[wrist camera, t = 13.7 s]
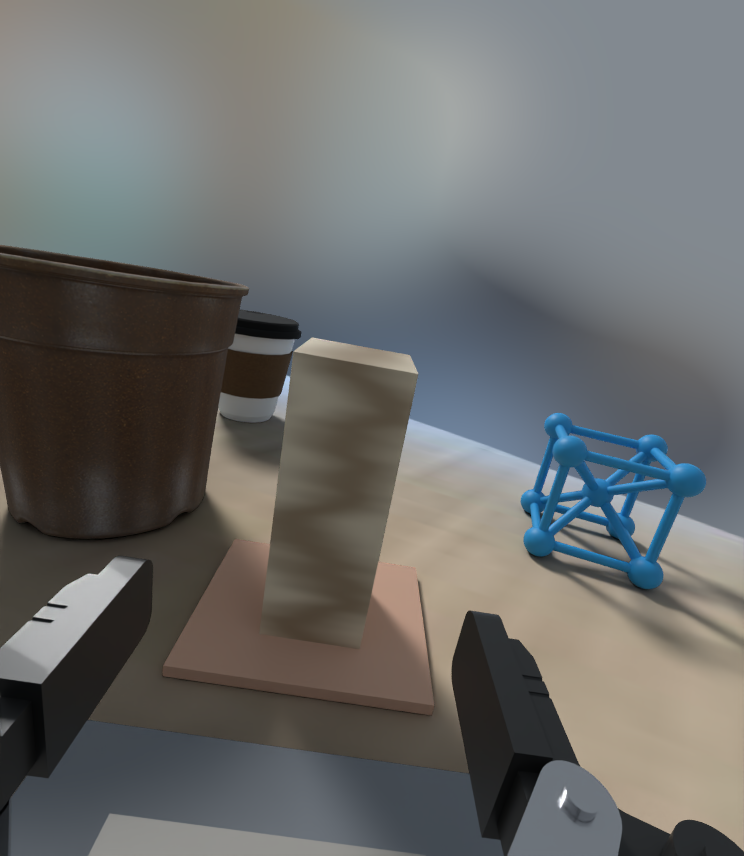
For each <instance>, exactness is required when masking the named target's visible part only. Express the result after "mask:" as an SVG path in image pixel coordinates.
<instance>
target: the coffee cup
mask: <svg viewBox="0 0 744 856" xmlns="http://www.w3.org/2000/svg"><path fill="white" fill-rule="evenodd" d="M298 326H299V324H298V323H297V322H296V321H294V320H291V319H287V318H284V317H280V316H276V315H271V314H265V313H260V312H254V311H246V310H239V315H238V320H237V325H236V331H235V336H234V342H233V344H232V345H231V346H230V347H228V352H227V358H226V364H225V370H224V375H223V381H222V387H221V394H220V400H219V405H218V407H219V410H220V412H221V414H222V415H223V416H224V417H226V418H228V419H231V420H235V421H240V422H264V421H266V420H269V419H270V417H271V416H272V414H273V413H274V411H275V408H276V404H277V401H278V397H279V396H280V394H281V392H282V388H283V385H284V381H285V378H286V374H287V370H288V367H289V363H290V360H291V356H292V352H293V351H292V348H293V344H294V341H295V339H299V338H300V337H301V331H299V330H298Z"/></svg>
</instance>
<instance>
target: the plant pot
mask: <svg viewBox="0 0 744 856" xmlns="http://www.w3.org/2000/svg"><path fill="white" fill-rule="evenodd" d="M248 291H249V288H248V287H246V286H244V285H241V284H237V283H232V282H227V281H222V280H216V279H211V278H206V277H201V276H195V275H190V274H184V273H178V272H173V271H167V270H162V269H155V268H149V267H143V266H138V265H131V264H125V263H118V262H112V261H106V260H99V259H93V258H86V257H79V256H72V255H65V254H60V253H53V252H46V251H40V250H34V249H27V248H19V247H12V246H4V245H0V468H1V472H2V477H3V482H4V488H5V493H6V499H7V504H8V509H9V511H10V513H11V515H12V516H13V518H14V519H15V520H16V521H18V522H19V523H24V522H29V523H31V524H32V525H34V526H35V527H36V528H38V529H39V530H40V531H41V532H42V533H44V534H47V535H52V536H58V537H67V538H83V539H89V538H110V537H120V536H126V535H133V534H137V533H142V532H146V531H150V530H154V529H157V528H160V527H164V526H166V525H169V524H171V522H172V521H173V520H174V519H175V518H176V517H177V516H178V515H179V514H181V513H183V512H192V511H193V510H194V509H195V508H197V507H198V505H199V504H200V503H201V501H202V499H203V497H204V494H205V489H206V482H207V475H208V468H209V461H210V455H211V448H212V442H213V435H214V429H215V423H216V417H217V411H218V405H219V400H220V394H221V387H222V381H223V375H224V370H225V364H226V358H227V352H228V347H230V346H231V345H232V344H233V342H234V336H235V331H236V325H237V320H238V315H239V309H240V304H241V299H242V297H243V296H245V295H247V294H248Z"/></svg>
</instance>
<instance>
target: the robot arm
mask: <svg viewBox="0 0 744 856" xmlns="http://www.w3.org/2000/svg"><path fill="white" fill-rule="evenodd" d="M152 578H153V565H152V562H151V561H150V560H146V559H139V558H133V557H126V556H117V557H115V558H114V559H113V560H112V561H111V562H110V563H109V564H108V565H107V566H106V567H105V568H104V569H103V570H102V571H101V572H100V573H99V574H98V575H96V574H89V573H88V574H86V575H85V576H83V577H81V578H79V579H77V580H75V581H74V582H72V583H70V584H68V585H66V586H65V587H64V588H63V589H62V590H60V591H59V592H58V593H57V594H56V595H55V596H54V597H53V598H52V599H51V600H50V601H49V602H48V604H47V606H44V607H43V608H42V609H41V610H40V611H39V612H38V613H37V614H35V615H34V616H33V619H32V620H31V621H28V622H27V623H26V624H25V625H24V626H23V627H22V628H21V629H20V630H19V631H18V632H17V633H16V634H15V635H14V636H13V637H11V638H10V639H9V640H8V641H7V642H6V643H5V644H4V645H3V646H2V647H1V648H0V856H11V812H12V802H11V796H12V795H13V793H14V792H15V790H16V789H17V788H18V786H19V785H20V783H21V782H22V781H23V779H24V778H25V776H34V777H41V778H49V777H50V775H51V774H52V772H53V771H54V769H55V768H56V766H57V765H58V763H59V762H60V760H61V759H62V757H63V756H64V754H65V753H66V751H67V750H68V748H69V747H70V745H71V744H72V742H73V741H74V739H75V738H76V736H77V735H78V733H79V732H80V730H81V729H82V727H83V726H84V724H85V723H86V721H87V720H88V718H89V717H90V715H91V714H92V712H93V711H94V709H95V708H96V706H97V705H98V703H99V702H100V700H101V699H102V697H103V696H104V694H105V693H106V691H107V690H108V688H109V687H110V685H111V684H112V682H113V681H114V679H115V678H116V676H117V675H118V673H119V672H120V670H121V669H122V667H123V666H124V664H125V663H126V661H127V660H128V658H129V657H130V655H131V654H132V652H133V651H134V649H135V648H136V646H137V645H138V643H139V642H140V640H141V639H142V637H143V636H144V634H145V632H146V629H147V627H148V624H149V621H150V617H151V611H152ZM452 685H453V691H454V696H455V701H456V706H457V711H458V717H459V722H460V727H461V732H462V738H463V743H464V748H465V753H466V759H467V764H468V769H469V774H470V780H471V785H472V790H473V795H474V801H475V806H476V811H477V816H478V821H479V827H480V832H481V837H482V838H489V839H497V840H500V841H501V845H502V850H503V854H504V856H744V851H743V850H741V849H740V848H739V847H738V846H737V845H736V844H735V843H734V842H733V841H732V840H730V839H729V838H728V837H727V836H725V835H724V834H722V833H721V832H719V831H718V830H716V829H715V828H713V827H711V826H709V825H707V824H705V823H702V822H699V821H695V820H683V821H681V822H679V823H678V824H677V825H676V826H675V828H674V830H673V831H672V833H671V834H669V833H666V832H664V831H662V830H660V829H658V828H656V827H654V826H652V825H650V824H647V823H645V822H643V821H641V820H639V819H637V818H635V817H633V816H631V815H629V814H627V813H625V812H623V811H621V810H620V809H618V808H617V806H616V804H615V802H614V800H613V798H612V797H611V795H610V794H609V792H608V791H607V789H606V788H605V787H604V786H603V785H602V784H601V783H600V782H599V781H598V780H597V779H596V778H595V777H594V776H593V775H592V774H590V773H589V772H588V771H586V770H585V769H583V768H582V767H580V765H579V763H578V761H577V758H576V756H575V754H574V751H573V749H572V747H571V744H570V742H569V740H568V737H567V735H566V733H565V730H564V728H563V725H562V723H561V721H560V718H559V716H558V714H557V711H556V709H555V707H554V704H553V702H552V700H551V699H550V698H549V692H548V690H547V688H546V685H545V683H544V682H543V681H542V676H541V674H540V671H539V669H538V667H537V664H536V662H535V660H534V658H533V656H532V655H531V654H530V653H529V652H528V650H527V649H526V648H525V647H524V646H523V645H522V643H521V642H520V641H519V640H516V639H509V638H508V636H507V633H506V631H505V628H504V625H503V623H502V620H501V618H500V616H499V615H495V614H489V613H482V612H476V611H468V612H467V614H466V616H465V619H464V623H463V626H462V629H461V633H460V636H459V639H458V643H457V646H456V649H455V653H454V656H453V661H452Z"/></svg>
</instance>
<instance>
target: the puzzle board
mask: <svg viewBox="0 0 744 856" xmlns="http://www.w3.org/2000/svg"><path fill="white" fill-rule="evenodd" d="M11 802H12V812H11V856H504V854H503V850H502V845H501V841H500V840H497V839H489V838H482V837H481V832H480V827H479V821H478V816H477V811H476V806H475V801H474V795H473V790H472V785H471V780H470V774H468V773H461V772H454V771H447V770H440V769H433V768H426V767H419V766H412V765H404V764H397V763H390V762H383V761H376V760H369V759H362V758H355V757H348V756H341V755H333V754H326V753H319V752H312V751H305V750H298V749H291V748H284V747H277V746H269V745H262V744H255V743H248V742H241V741H234V740H227V739H220V738H213V737H205V736H198V735H191V734H184V733H177V732H170V731H163V730H156V729H149V728H142V727H134V726H127V725H120V724H113V723H106V722H99V721H92V720H87V721H86V723H85V724H84V726H83V727H82V729H81V730H80V732H79V733H78V735H77V736H76V738H75V739H74V741H73V742H72V744H71V745H70V747H69V748H68V750H67V751H66V753H65V754H64V756H63V757H62V759H61V760H60V762H59V763H58V765H57V766H56V768H55V769H54V771H53V772H52V774H51V775H50V777H49V778H41V777H34V776H26V778H25V779H24V780H23V782H22V783H21V785H20V786H19V787H18V789H17V790H16V792H15V793H14V794H13V796H12V797H11Z"/></svg>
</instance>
